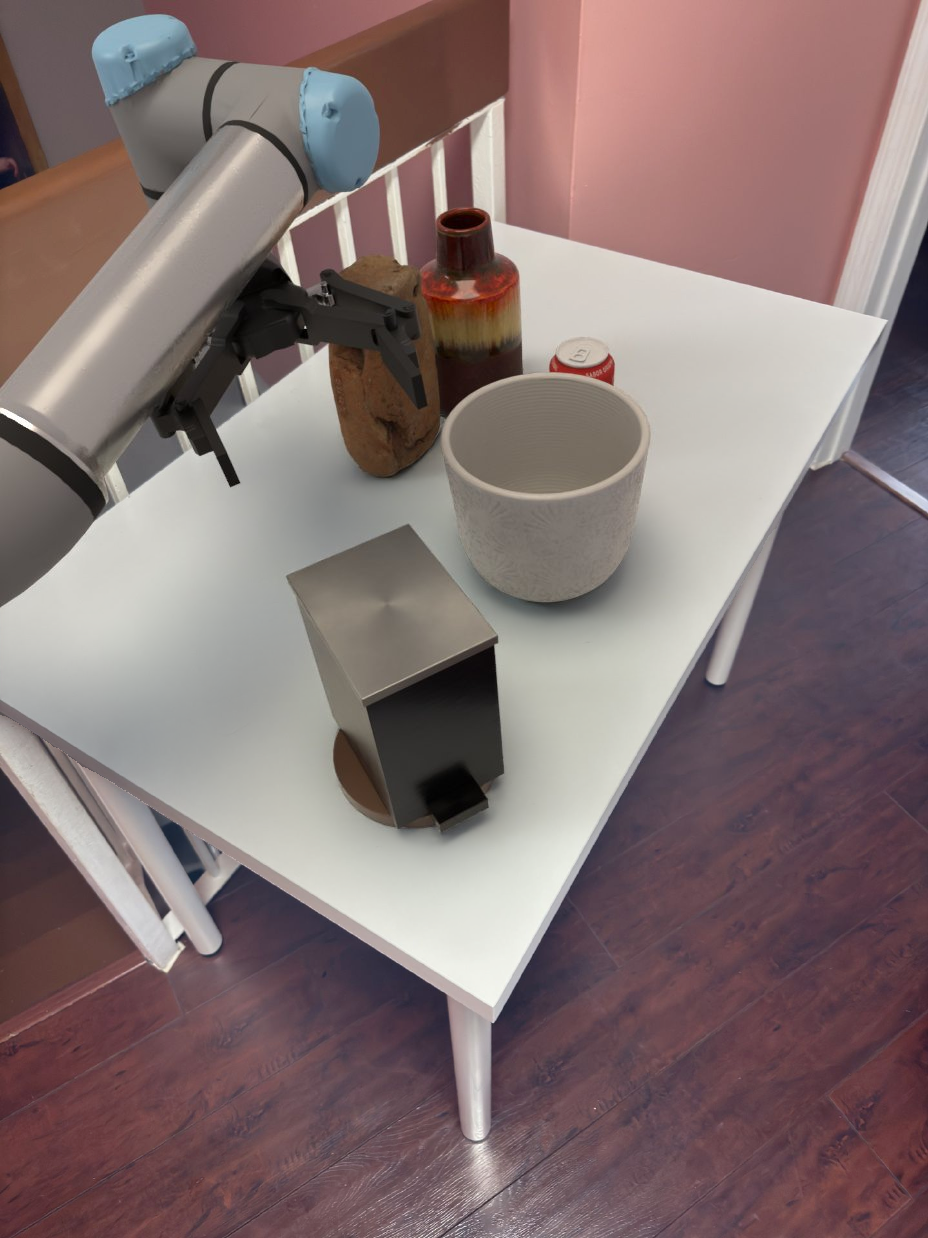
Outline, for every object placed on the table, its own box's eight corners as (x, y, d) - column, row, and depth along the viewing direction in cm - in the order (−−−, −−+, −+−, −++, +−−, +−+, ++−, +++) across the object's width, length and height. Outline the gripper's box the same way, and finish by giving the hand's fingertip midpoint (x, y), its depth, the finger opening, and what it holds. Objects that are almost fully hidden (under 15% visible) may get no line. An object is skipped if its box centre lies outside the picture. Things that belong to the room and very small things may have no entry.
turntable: (370, 856, 66) (367, 846, 65) (314, 726, 75) (310, 716, 73) (529, 785, 69) (528, 774, 68) (458, 668, 78) (456, 657, 76)
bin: (407, 853, 65) (374, 721, 53) (328, 714, 73) (285, 575, 61) (521, 792, 67) (513, 653, 55) (431, 665, 76) (408, 522, 64)
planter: (661, 526, 87) (676, 391, 76) (602, 653, 77) (610, 519, 66) (499, 488, 93) (490, 356, 82) (425, 601, 83) (404, 470, 72)
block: (393, 415, 103) (366, 243, 88) (450, 431, 100) (432, 256, 85) (339, 471, 97) (299, 296, 82) (398, 490, 94) (369, 313, 79)
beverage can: (564, 428, 99) (564, 328, 90) (619, 441, 97) (625, 340, 88) (540, 461, 95) (538, 361, 86) (596, 476, 93) (600, 374, 84)
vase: (434, 369, 108) (414, 196, 93) (525, 367, 107) (520, 192, 92) (424, 423, 101) (401, 246, 86) (521, 422, 100) (515, 242, 85)
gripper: (387, 270, 78) (499, 404, 65) (106, 378, 74) (168, 543, 61) (369, 184, 72) (488, 313, 60) (62, 296, 68) (120, 461, 55)
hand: (326, 431), depth 60 cm, fingers open, 13 cm apart
